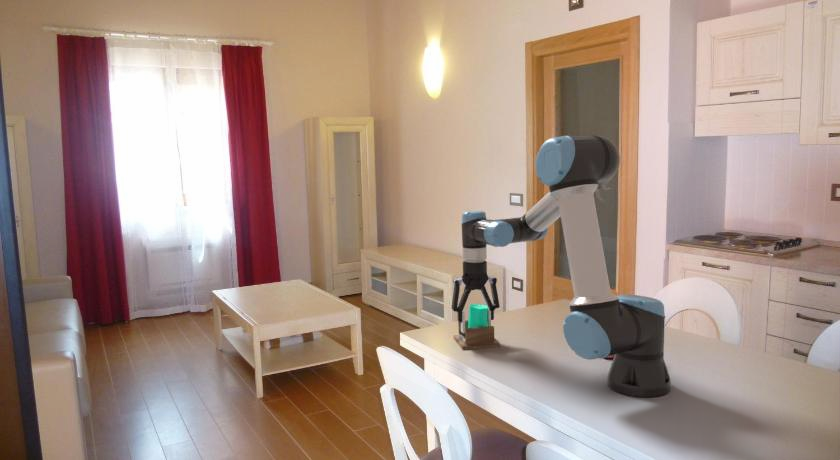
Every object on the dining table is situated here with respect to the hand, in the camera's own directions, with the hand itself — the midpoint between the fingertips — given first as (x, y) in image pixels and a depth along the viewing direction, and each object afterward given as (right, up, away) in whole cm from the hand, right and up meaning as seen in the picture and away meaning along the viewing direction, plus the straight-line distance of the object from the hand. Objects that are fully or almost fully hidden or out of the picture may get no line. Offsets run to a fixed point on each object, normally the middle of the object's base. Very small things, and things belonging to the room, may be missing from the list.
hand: (476, 330), depth 197 cm
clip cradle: (0, -4, 0) cm, 4 cm away
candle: (0, -3, 0) cm, 3 cm away
